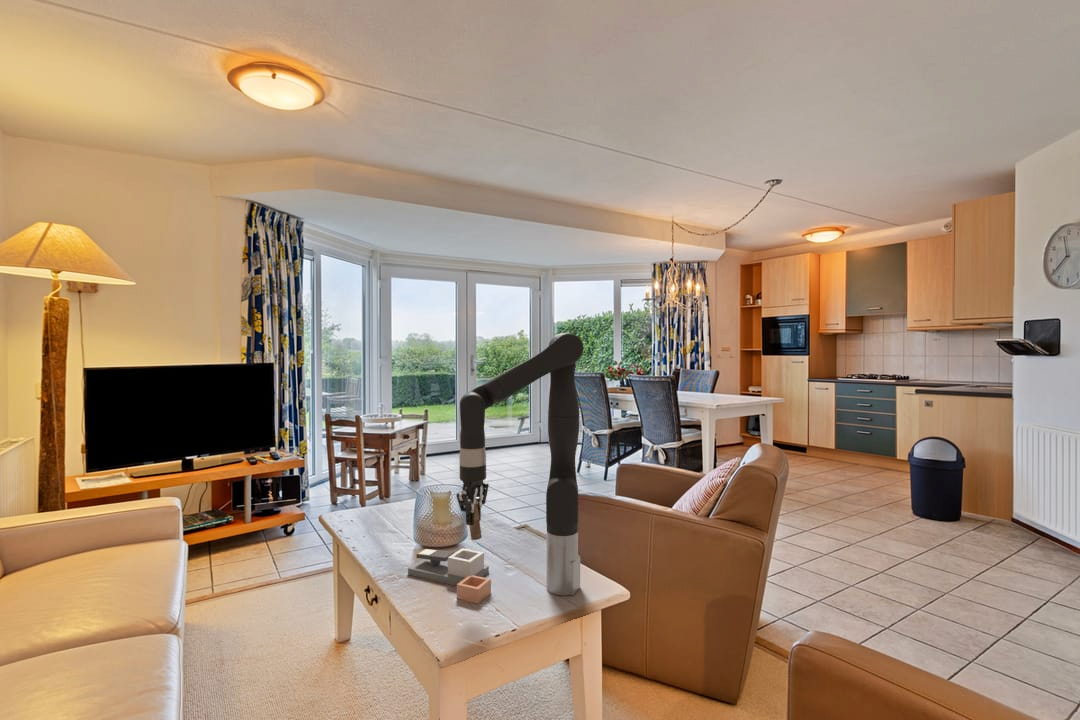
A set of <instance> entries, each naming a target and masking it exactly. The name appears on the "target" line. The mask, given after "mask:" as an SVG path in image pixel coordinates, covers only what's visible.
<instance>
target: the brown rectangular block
mask: <svg viewBox="0 0 1080 720" xmlns="http://www.w3.org/2000/svg"><path fill="white" fill-rule="evenodd" d="M468 500H470V499H468ZM470 501H472V500H470ZM469 506H470V507H471V504H469ZM468 526H469V531H470V540H472V541H476V540H480V539H482V530H481V520H480V521H479V513H478V506H477V499H476V503H475V504H474V525H472V526H471V525H468Z"/></svg>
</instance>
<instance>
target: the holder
mask: <svg viewBox="0 0 1080 720" xmlns="http://www.w3.org/2000/svg"><path fill="white" fill-rule="evenodd" d="M491 593H492V579H491V578H487V577H485V576H483V577H479V576H474V575H469V576H468V577H466V578H465V579H464V580H462V581H461V582H460V583H458V584H457V586H456V600H457V599H459V600H462V601H466V602H470V603H474V604H480V603H481V602H482V601H483V600H484V599H486V598H487V597H488V596H489V595H491Z"/></svg>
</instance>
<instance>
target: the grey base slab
mask: <svg viewBox="0 0 1080 720" xmlns="http://www.w3.org/2000/svg"><path fill="white" fill-rule="evenodd" d="M489 569H490V567H489V565H485V552H484V551H478V550H474V549H469V548H460V549H459V550H457V551H456V552H454V554H452V555H451V556H449V557H448V560H447V561H446V562H444V561H436V560H428V559H420V560H419V561H418V562H416V563H415V564H412V565H411V566H409V567H408V568H407V575H409V576H413V577H416V578H422V579H426V580H431V581H434V582H439V583H443V584H447V585H451V586H456V587H457V584H458V583H460V582H461V581H462V580H464V579H465V578H466V577H468V576H469V575H474V576H479V577H485V576H486V575H488V574H489V572H490V571H489Z"/></svg>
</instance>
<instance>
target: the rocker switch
mask: <svg viewBox="0 0 1080 720" xmlns="http://www.w3.org/2000/svg"><path fill="white" fill-rule="evenodd" d="M454 553H455V551H450V550H440V549H431V548H425V549H423V550H421V551H420V552H417V553H416V554H415V555H416V556H415V557H416V559H420V560H423V559H428V560H436V561H444V562H446V561H447V560H448V557H449V556H451V555H452V554H454Z"/></svg>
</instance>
